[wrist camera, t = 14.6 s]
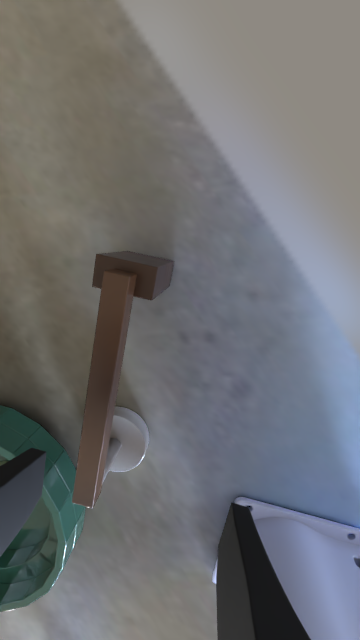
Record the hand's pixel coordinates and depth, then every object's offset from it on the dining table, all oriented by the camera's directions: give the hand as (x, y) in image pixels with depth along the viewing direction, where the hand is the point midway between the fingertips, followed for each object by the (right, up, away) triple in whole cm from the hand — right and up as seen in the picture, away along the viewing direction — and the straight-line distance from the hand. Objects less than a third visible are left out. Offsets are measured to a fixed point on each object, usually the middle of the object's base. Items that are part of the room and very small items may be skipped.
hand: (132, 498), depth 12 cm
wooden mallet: (-1, +3, +10) cm, 10 cm away
